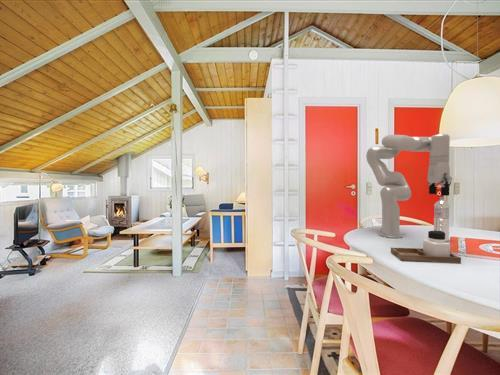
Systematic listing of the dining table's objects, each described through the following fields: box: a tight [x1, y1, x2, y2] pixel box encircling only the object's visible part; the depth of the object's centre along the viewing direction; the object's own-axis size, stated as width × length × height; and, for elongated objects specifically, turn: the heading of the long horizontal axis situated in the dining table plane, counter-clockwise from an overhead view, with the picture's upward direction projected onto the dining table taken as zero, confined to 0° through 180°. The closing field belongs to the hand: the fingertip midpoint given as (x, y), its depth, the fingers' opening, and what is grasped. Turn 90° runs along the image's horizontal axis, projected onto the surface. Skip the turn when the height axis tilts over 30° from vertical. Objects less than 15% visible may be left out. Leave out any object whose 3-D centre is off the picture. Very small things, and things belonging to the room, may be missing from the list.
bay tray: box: [390, 247, 462, 264], centre depth 108 cm, size 12×23×2 cm, turn 80°
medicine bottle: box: [422, 229, 451, 257], centre depth 107 cm, size 7×7×12 cm
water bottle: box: [433, 197, 450, 243], centre depth 135 cm, size 7×7×25 cm
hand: (438, 194), depth 115 cm, fingers open, 9 cm apart
